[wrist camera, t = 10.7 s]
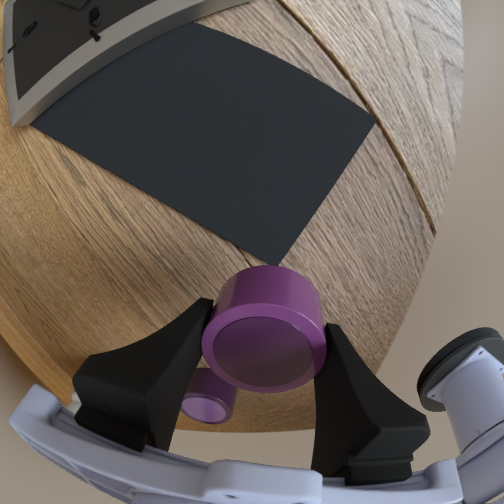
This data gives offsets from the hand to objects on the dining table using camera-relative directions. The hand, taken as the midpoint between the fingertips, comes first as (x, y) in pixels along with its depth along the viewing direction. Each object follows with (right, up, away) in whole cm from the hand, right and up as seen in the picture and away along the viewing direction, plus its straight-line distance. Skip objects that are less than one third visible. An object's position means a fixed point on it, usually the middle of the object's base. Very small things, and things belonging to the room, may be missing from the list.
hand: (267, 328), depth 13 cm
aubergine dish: (-5, -10, +13) cm, 17 cm away
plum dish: (0, +1, +1) cm, 1 cm away
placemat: (-8, +14, +3) cm, 17 cm away
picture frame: (-12, +24, -1) cm, 27 cm away
